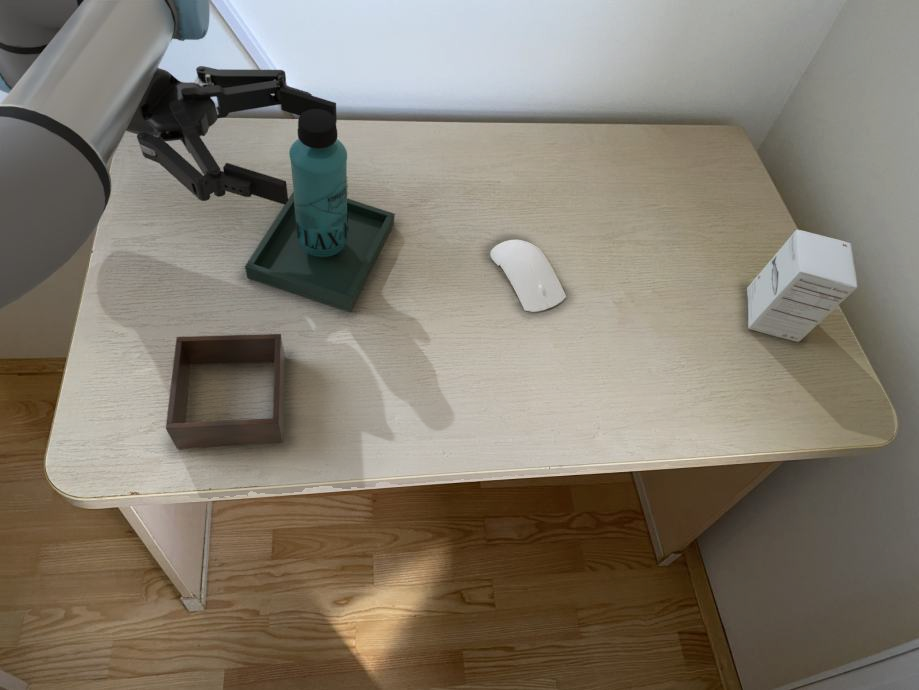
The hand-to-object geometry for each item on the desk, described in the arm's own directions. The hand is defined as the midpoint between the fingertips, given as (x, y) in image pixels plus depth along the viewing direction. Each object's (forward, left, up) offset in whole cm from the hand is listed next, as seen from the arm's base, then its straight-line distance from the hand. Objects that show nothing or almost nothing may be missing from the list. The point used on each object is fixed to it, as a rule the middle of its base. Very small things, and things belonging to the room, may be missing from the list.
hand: (312, 152), depth 72 cm
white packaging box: (+41, -46, -16) cm, 64 cm away
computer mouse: (+19, -20, -16) cm, 32 cm away
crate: (-21, -12, -16) cm, 29 cm away
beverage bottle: (0, -1, -16) cm, 16 cm away
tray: (0, -1, -16) cm, 16 cm away
